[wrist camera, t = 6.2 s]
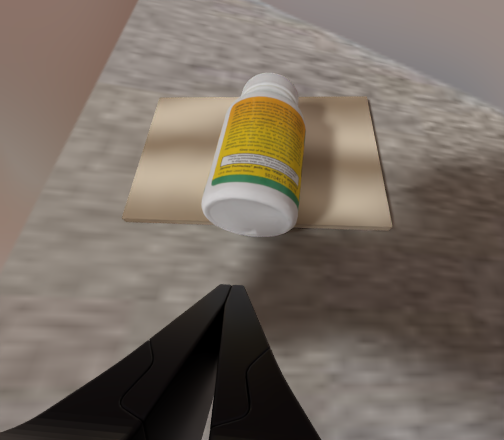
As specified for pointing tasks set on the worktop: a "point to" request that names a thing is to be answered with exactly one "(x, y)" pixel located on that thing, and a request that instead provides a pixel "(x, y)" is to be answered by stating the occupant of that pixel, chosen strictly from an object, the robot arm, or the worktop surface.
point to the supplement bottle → (258, 161)
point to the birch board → (314, 164)
